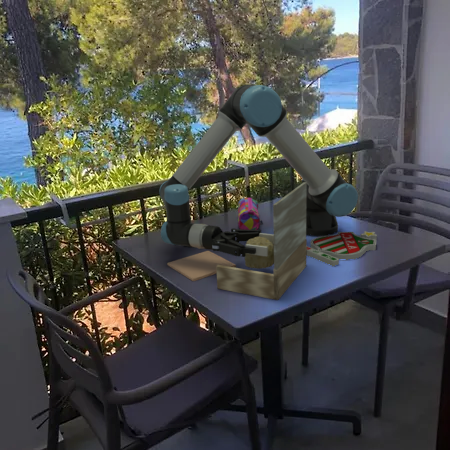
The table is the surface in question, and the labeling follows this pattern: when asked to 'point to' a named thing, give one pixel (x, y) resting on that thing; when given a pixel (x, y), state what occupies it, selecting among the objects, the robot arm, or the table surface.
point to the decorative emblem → (341, 246)
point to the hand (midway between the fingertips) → (273, 245)
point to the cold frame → (275, 252)
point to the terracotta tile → (199, 265)
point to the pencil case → (248, 214)
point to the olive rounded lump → (257, 260)
